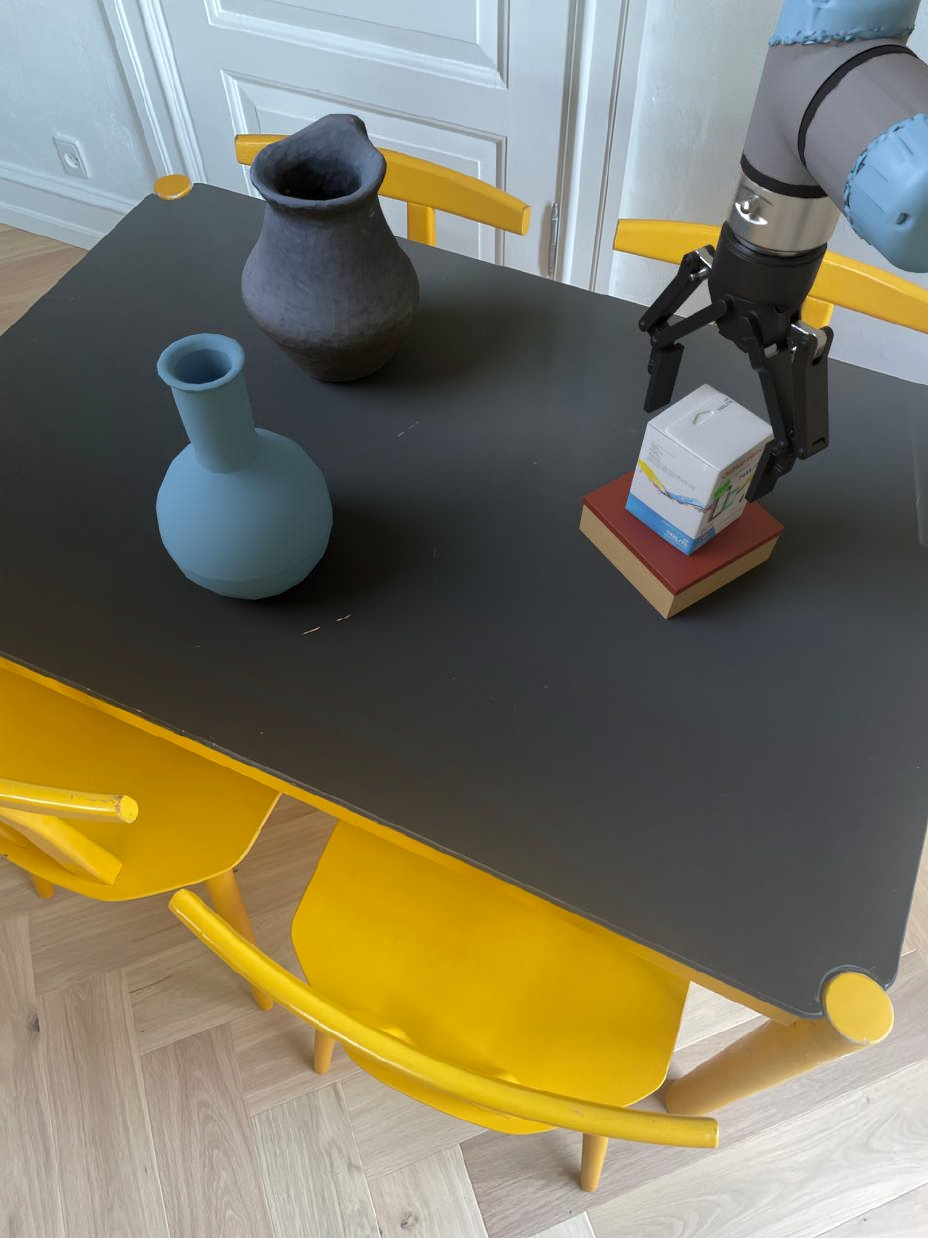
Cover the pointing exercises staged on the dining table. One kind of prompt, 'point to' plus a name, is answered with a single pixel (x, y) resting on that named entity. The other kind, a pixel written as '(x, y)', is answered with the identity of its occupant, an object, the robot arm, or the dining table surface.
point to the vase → (236, 482)
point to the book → (674, 549)
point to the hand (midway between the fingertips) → (705, 448)
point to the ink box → (696, 467)
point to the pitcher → (328, 253)
